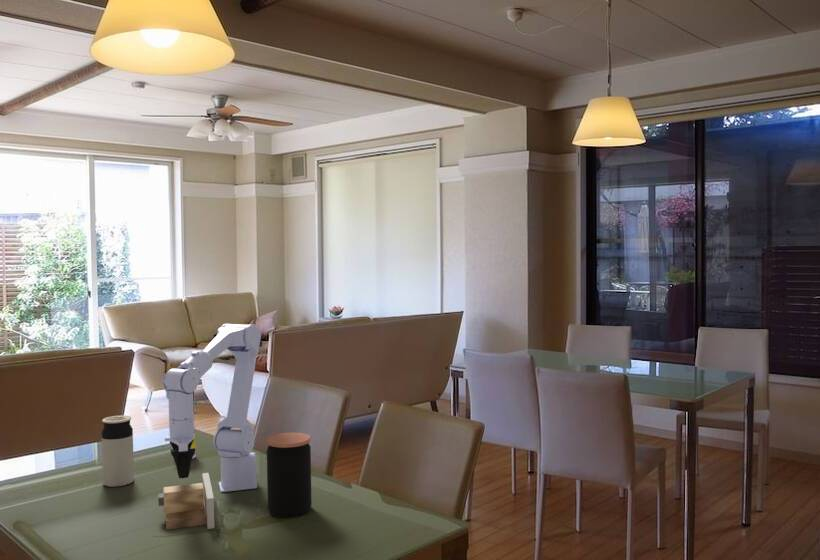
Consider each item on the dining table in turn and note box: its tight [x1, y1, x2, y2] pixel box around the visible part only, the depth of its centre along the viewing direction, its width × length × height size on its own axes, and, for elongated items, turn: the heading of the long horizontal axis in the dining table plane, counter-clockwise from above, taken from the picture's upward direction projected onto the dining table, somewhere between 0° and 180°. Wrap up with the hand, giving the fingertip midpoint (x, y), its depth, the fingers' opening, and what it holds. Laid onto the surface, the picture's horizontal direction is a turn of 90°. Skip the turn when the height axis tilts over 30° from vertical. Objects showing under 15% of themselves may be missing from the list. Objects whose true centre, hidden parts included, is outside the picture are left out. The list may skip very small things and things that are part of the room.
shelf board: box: [201, 472, 215, 530], centre depth 174 cm, size 2×20×7 cm, turn 19°
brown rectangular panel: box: [165, 502, 207, 531], centre depth 173 cm, size 9×14×2 cm, turn 19°
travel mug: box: [101, 415, 135, 488], centre depth 198 cm, size 8×8×18 cm
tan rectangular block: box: [157, 482, 204, 515], centre depth 172 cm, size 10×4×5 cm, turn 109°
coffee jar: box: [266, 432, 312, 519], centre depth 176 cm, size 11×11×18 cm
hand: (183, 472), depth 175 cm, fingers open, 7 cm apart
